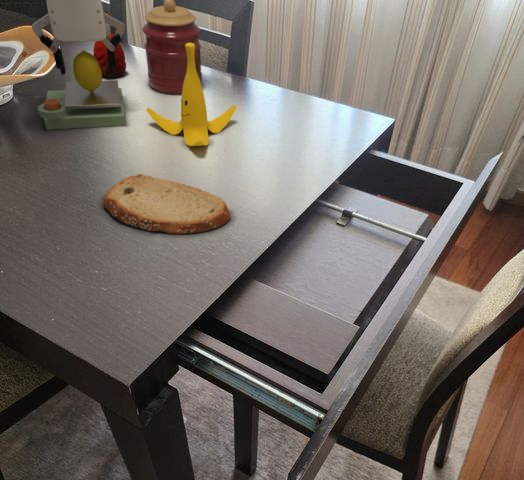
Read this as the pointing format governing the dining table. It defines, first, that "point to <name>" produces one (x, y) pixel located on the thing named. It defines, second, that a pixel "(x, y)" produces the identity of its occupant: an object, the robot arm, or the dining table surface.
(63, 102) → the scale
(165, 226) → the bread slice
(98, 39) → the robot arm
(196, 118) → the banana peel
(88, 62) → the lemon
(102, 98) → the scale pan
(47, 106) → the tare button
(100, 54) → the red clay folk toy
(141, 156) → the dining table surface
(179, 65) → the kitchen canister
